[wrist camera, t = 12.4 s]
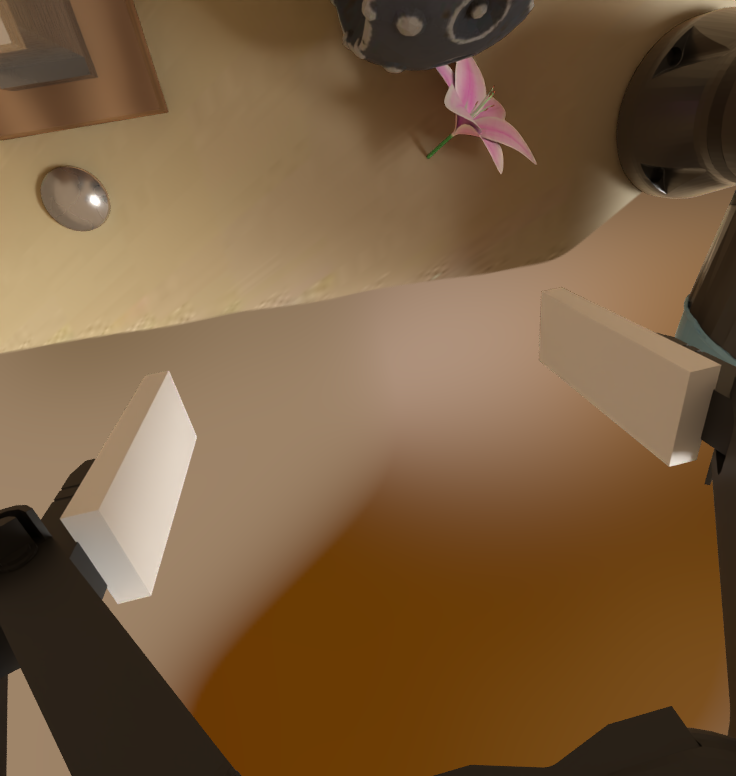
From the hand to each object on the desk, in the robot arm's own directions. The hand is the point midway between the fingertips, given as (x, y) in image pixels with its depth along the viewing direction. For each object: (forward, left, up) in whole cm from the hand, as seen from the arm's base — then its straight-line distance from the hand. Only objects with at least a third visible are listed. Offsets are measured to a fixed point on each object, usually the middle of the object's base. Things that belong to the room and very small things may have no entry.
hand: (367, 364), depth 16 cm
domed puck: (+19, -6, -31) cm, 37 cm away
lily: (-15, -7, -31) cm, 35 cm away
